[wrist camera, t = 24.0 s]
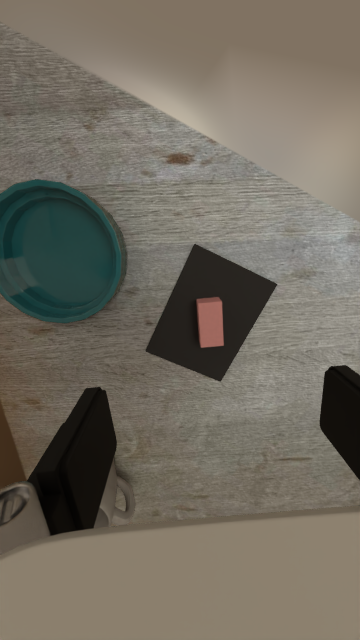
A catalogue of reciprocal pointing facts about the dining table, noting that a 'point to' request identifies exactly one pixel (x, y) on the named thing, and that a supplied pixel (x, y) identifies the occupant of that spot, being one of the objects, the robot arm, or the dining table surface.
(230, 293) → the mat
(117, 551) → the robot arm
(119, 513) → the mug
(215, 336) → the eraser
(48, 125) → the dining table surface
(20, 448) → the dining table surface
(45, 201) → the bowl
